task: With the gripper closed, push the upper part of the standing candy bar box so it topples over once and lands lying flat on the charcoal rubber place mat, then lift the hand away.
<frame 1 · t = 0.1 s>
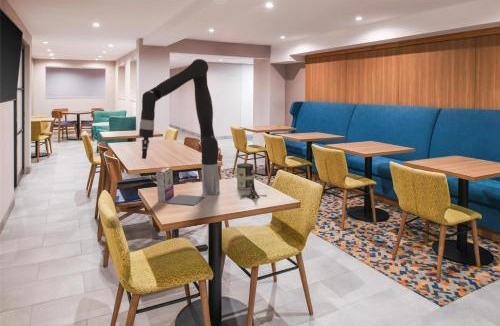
hand: (144, 157, 205), 22 cm above the table, tool pointing down, fingers open, 8 cm apart
eiffel tower figurine: (253, 198, 207), on the table
place mat: (185, 200, 202), on the table
candy bar box: (166, 199, 205), on the table
coffee can: (245, 187, 229), on the table
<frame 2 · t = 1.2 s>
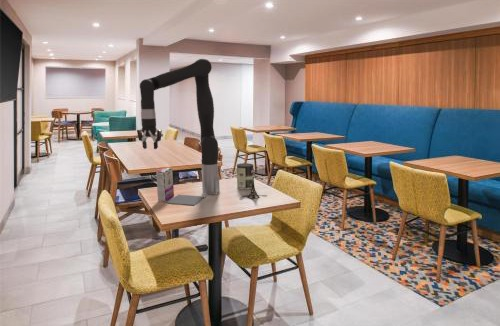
hand: (150, 148, 202), 28 cm above the table, tool pointing down, fingers open, 5 cm apart
nothing on the table moved.
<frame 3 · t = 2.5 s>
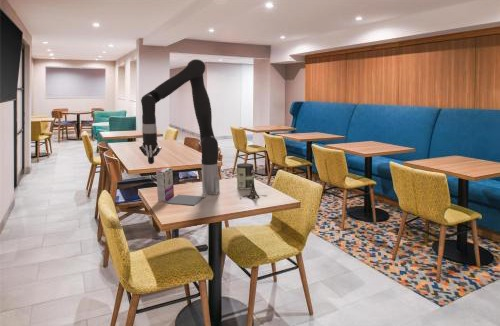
hand: (151, 163, 204), 19 cm above the table, tool pointing down, fingers closed
nothing on the table moved.
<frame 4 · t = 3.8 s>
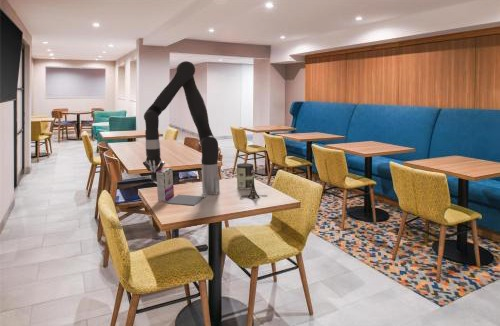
hand: (154, 178, 205), 11 cm above the table, tool pointing down, fingers closed
nothing on the table moved.
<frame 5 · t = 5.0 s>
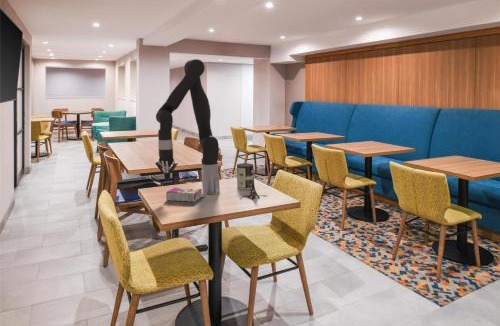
hand: (167, 179, 203), 11 cm above the table, tool pointing down, fingers closed
candy bar box: (169, 193, 204), point 3 cm above the table, touching place mat
everything else where it was.
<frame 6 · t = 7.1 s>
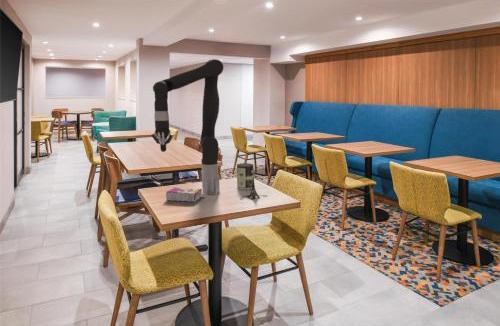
hand: (163, 151, 203), 26 cm above the table, tool pointing down, fingers closed
nothing on the table moved.
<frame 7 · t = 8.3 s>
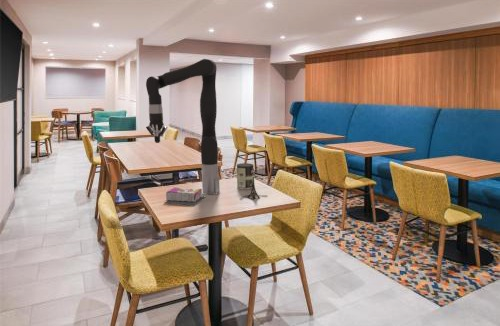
hand: (157, 142, 215), 29 cm above the table, tool pointing down, fingers closed
nothing on the table moved.
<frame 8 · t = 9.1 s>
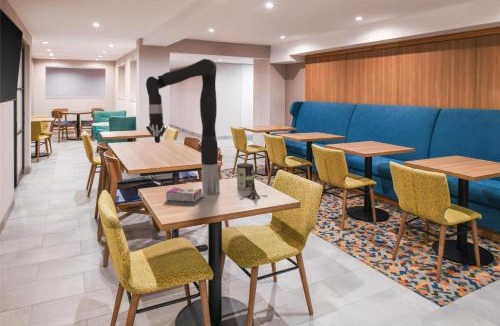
hand: (157, 142, 215), 29 cm above the table, tool pointing down, fingers closed
nothing on the table moved.
at the end: candy bar box tilted 91°; candy bar box touching place mat; candy bar box inside the target area (0.3 cm from its centre), point 2.9 cm above the table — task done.
